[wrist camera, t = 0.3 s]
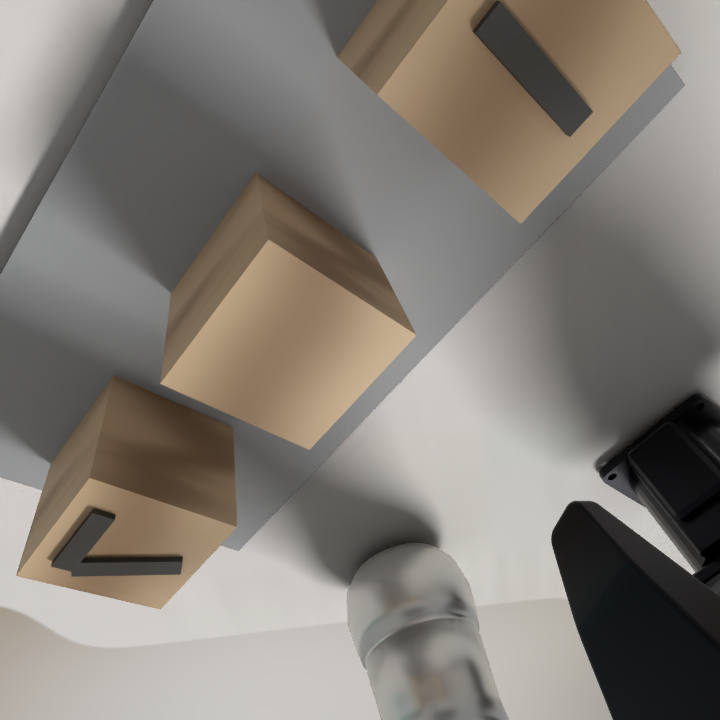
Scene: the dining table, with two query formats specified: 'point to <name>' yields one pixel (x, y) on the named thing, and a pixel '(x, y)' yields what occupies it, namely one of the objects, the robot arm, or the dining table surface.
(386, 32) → the oak block marked 1
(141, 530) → the oak block marked 7
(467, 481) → the dining table surface
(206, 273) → the plain oak block
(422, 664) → the plastic bottle
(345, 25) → the grey rubber mat
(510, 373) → the dining table surface
